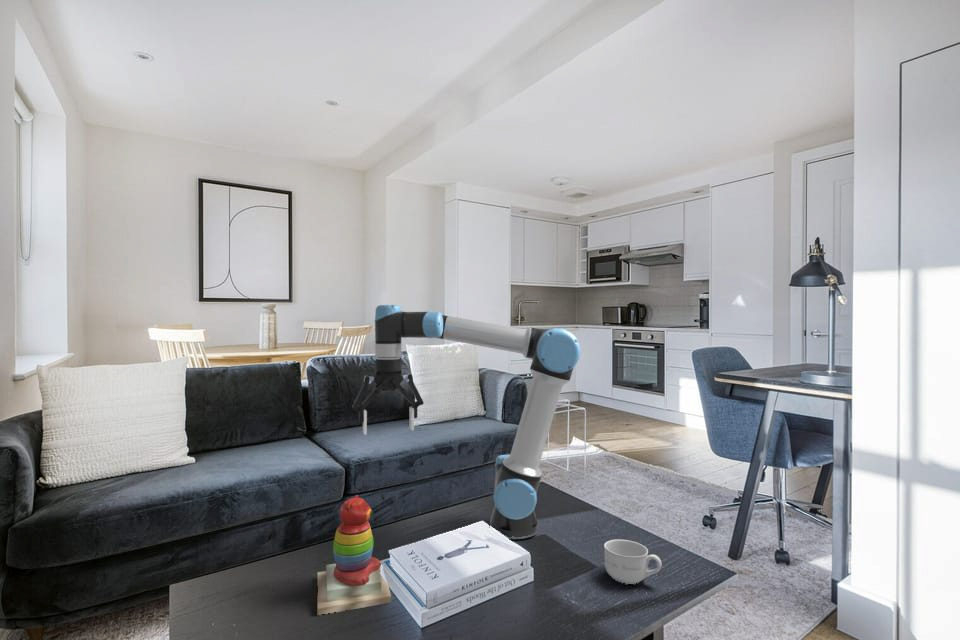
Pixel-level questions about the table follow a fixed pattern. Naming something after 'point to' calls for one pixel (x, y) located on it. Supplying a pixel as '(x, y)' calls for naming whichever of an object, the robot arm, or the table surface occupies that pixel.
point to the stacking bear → (354, 544)
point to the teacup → (628, 561)
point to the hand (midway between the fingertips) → (388, 431)
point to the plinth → (351, 601)
